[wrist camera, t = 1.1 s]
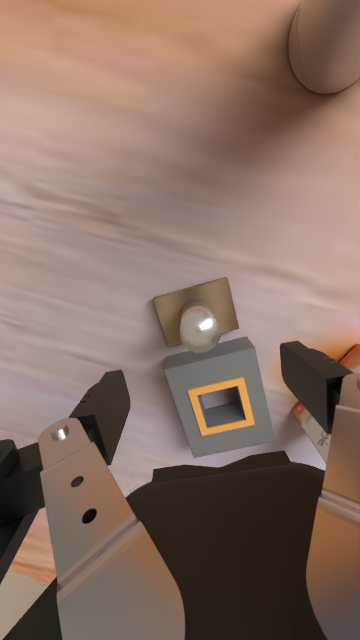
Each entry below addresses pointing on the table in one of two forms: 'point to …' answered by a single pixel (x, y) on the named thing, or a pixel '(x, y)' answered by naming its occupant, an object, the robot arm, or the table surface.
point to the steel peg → (198, 327)
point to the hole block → (212, 375)
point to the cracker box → (355, 362)
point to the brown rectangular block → (208, 292)
